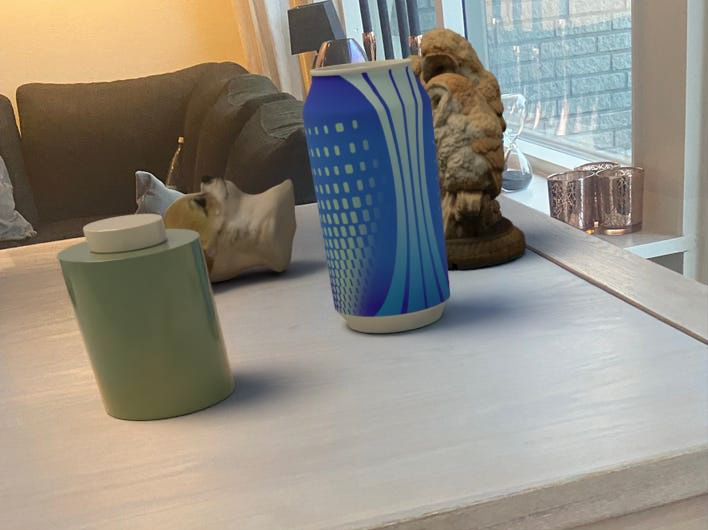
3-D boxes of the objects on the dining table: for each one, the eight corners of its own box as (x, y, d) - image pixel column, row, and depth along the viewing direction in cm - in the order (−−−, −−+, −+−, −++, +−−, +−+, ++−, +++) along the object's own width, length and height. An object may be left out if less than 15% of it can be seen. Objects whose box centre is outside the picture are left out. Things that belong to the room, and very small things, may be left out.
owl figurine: (355, 246, 92) (324, 37, 82) (463, 224, 96) (445, 23, 86) (436, 279, 78) (410, 34, 69) (558, 252, 82) (549, 18, 73)
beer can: (315, 323, 70) (271, 73, 61) (407, 297, 75) (377, 58, 66) (380, 344, 65) (341, 71, 56) (475, 314, 69) (453, 55, 60)
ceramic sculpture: (291, 166, 77) (104, 203, 75) (317, 276, 82) (142, 314, 80) (282, 152, 86) (114, 185, 84) (306, 253, 90) (148, 286, 89)
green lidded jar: (83, 423, 57) (22, 242, 51) (134, 377, 63) (86, 213, 58) (211, 416, 56) (164, 232, 50) (250, 371, 62) (212, 203, 57)
